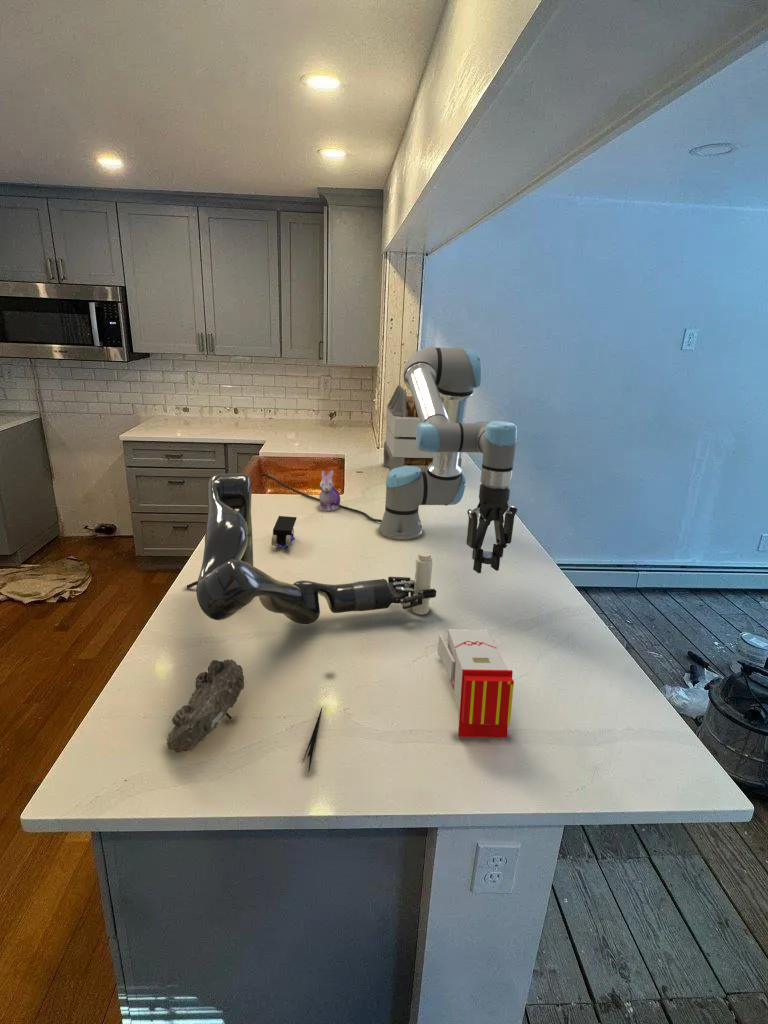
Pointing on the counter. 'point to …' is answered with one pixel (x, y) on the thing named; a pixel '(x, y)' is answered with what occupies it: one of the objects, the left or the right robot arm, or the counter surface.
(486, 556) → the lid
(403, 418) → the transformer
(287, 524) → the figurine character
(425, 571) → the white cylinder
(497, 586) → the counter surface
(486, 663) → the toy
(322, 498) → the figurine
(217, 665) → the fossil
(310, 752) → the feather
